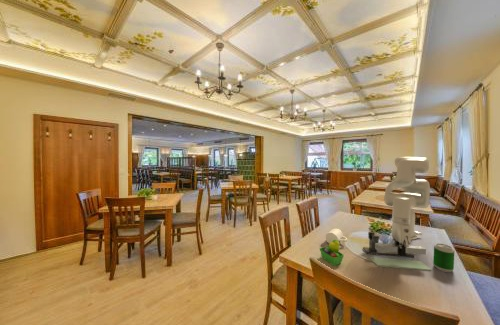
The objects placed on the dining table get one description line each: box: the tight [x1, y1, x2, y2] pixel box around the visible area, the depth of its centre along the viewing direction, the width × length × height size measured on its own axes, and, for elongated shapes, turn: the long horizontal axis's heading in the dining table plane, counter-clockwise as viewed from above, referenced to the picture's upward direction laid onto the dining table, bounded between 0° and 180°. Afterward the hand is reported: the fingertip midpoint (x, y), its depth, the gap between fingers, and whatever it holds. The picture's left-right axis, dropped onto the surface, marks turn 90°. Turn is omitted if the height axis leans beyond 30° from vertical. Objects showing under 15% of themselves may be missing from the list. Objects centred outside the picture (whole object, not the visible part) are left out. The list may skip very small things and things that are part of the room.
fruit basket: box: [319, 239, 345, 266], centre depth 110 cm, size 11×9×11 cm
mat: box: [370, 256, 432, 272], centre depth 106 cm, size 25×8×1 cm, turn 81°
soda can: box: [432, 243, 455, 273], centre depth 102 cm, size 8×8×12 cm
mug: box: [325, 228, 348, 245], centre depth 131 cm, size 12×10×8 cm
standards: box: [362, 231, 415, 258], centre depth 118 cm, size 25×6×11 cm, turn 81°
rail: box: [375, 242, 427, 256], centre depth 106 cm, size 23×3×3 cm, turn 81°
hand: (399, 253), depth 106 cm, fingers closed on rail, 3 cm apart
